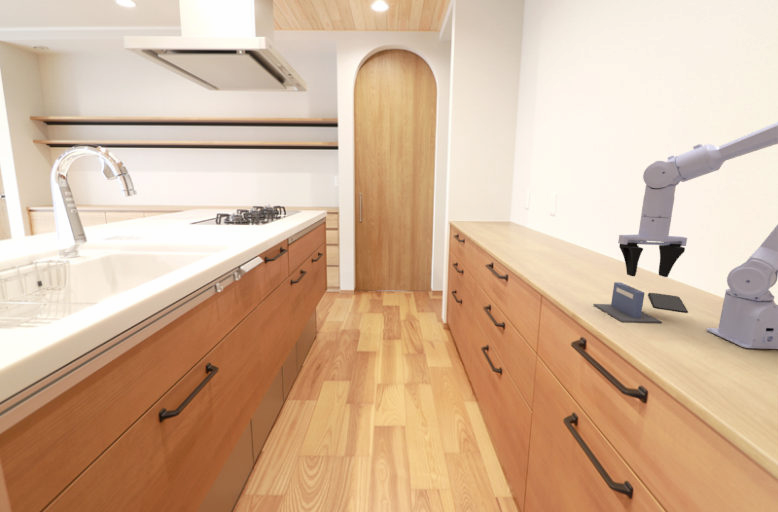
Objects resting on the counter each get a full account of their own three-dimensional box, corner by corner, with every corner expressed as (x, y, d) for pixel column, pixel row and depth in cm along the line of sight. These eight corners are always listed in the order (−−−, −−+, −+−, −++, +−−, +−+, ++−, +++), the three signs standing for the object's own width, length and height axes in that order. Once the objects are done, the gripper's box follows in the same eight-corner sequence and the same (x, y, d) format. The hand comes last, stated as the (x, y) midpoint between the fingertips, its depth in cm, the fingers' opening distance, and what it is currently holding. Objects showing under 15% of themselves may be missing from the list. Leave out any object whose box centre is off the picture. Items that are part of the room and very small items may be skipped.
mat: (661, 323, 89) (662, 321, 89) (621, 322, 88) (621, 320, 88) (628, 306, 100) (629, 304, 100) (593, 305, 100) (593, 303, 100)
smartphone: (653, 306, 100) (647, 292, 113) (652, 310, 100) (647, 295, 113) (689, 312, 96) (679, 296, 109) (688, 315, 97) (679, 299, 110)
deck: (640, 318, 90) (644, 292, 89) (633, 318, 90) (637, 292, 89) (617, 306, 99) (620, 282, 98) (610, 305, 99) (614, 282, 98)
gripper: (674, 216, 94) (665, 272, 97) (614, 214, 94) (606, 271, 96) (698, 219, 88) (687, 279, 90) (632, 217, 87) (624, 278, 89)
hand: (647, 275), depth 93 cm, fingers open, 7 cm apart
